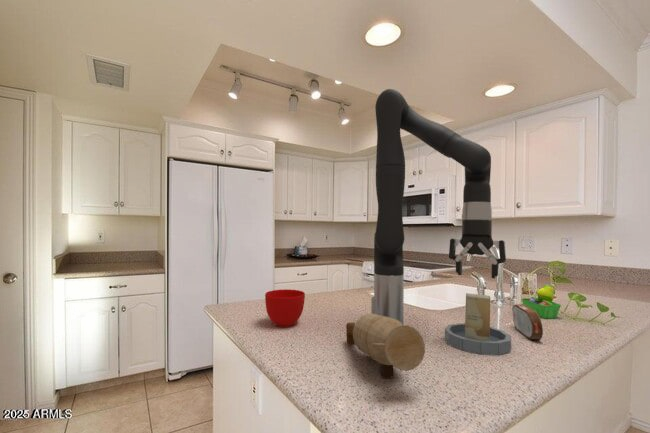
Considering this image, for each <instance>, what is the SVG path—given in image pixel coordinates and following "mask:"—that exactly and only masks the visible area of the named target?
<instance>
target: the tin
mask: <svg viewBox="0 0 650 433" xmlns="http://www.w3.org/2000/svg"><path fill="white" fill-rule="evenodd" d="M511 311H512V318H513V319H512V322H513V324H514V326H515V329H516V330H517V331H518V332H519V333H520V334H522V335H523V336H525V337H526V338H527V339H528V340H535V341H540V340H542V338H543V333H544V327H543V323H542V320H541V319H542V318H541V317H539V315H538V313H537V312H536V311H535V310H533V309H531V308H529V307H528V306H526V305H524V304H523V303H522V304H520V303H519V304H514V305H512V310H511Z"/></svg>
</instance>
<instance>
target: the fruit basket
mask: <svg viewBox="0 0 650 433" xmlns="http://www.w3.org/2000/svg"><path fill="white" fill-rule="evenodd" d="M554 293H555V290H554V288H553V286H552V285H549V284H544V285H543V286H542V287H541V288H539V289H537V290H536V292H535V294H536V296H537V297H534V296H532V297H530V298H529V297H526V298H525V297H524V298H523V297H522V298H521V303H522V304H524V305H526V306H528V307H529V308H531V309H533V310H535V311H536V312H537V313H538V315H539V317H540V319H557V318H558V314H559V311H560V308H561V307H562V304H559V303H557V302H554V298H555V296H554Z"/></svg>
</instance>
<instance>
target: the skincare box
mask: <svg viewBox="0 0 650 433" xmlns="http://www.w3.org/2000/svg"><path fill="white" fill-rule="evenodd" d="M464 314H465V316H464V318H465V319H464V322H465V338H468V339H473V340H479V341H490V327H491V296H490V295H487V294H486V295H485V294H477V293H476V294H475V293H466V294H465V313H464Z"/></svg>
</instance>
